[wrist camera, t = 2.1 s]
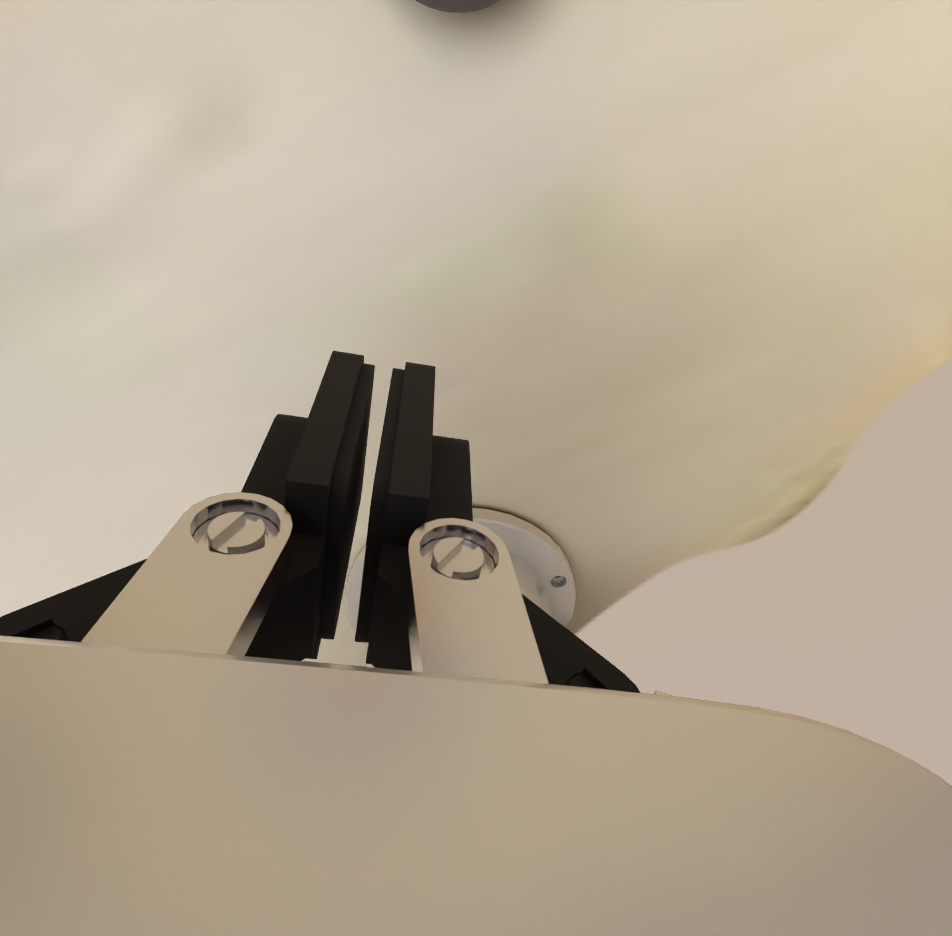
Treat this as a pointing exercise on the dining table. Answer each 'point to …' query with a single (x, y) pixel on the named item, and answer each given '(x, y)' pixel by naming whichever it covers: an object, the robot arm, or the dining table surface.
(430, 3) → the dark grey ball
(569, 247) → the dining table surface
